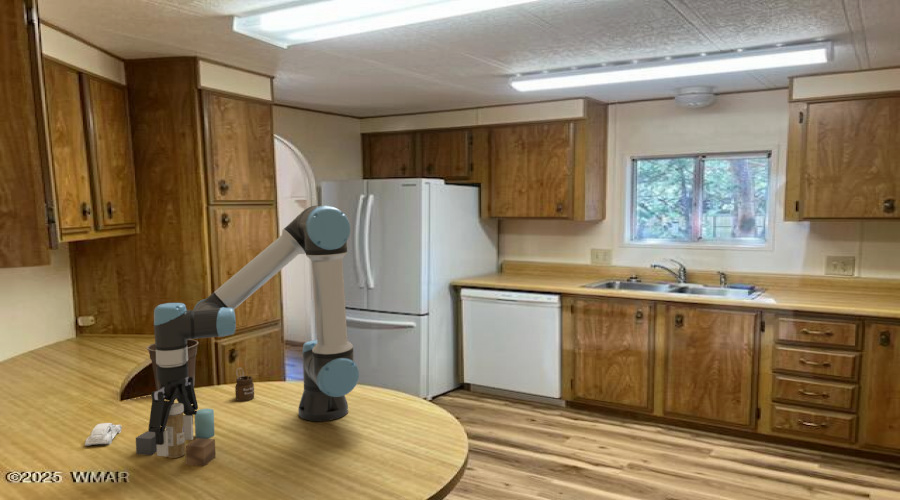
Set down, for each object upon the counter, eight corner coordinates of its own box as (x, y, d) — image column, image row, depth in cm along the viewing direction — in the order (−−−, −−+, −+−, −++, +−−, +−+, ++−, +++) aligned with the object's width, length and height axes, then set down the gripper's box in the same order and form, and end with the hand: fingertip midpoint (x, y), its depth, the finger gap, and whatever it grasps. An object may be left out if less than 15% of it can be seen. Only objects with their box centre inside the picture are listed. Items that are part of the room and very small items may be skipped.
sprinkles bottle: (187, 456, 157) (184, 405, 155) (167, 460, 154) (165, 409, 153) (183, 449, 160) (181, 400, 159) (165, 454, 158) (162, 404, 157)
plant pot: (147, 399, 200) (145, 352, 198) (150, 385, 215) (148, 341, 213) (200, 393, 206) (198, 347, 205) (199, 380, 221) (198, 337, 220)
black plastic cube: (162, 448, 162) (162, 432, 161) (151, 455, 157) (150, 438, 157) (147, 447, 162) (147, 431, 162) (136, 454, 158) (135, 437, 158)
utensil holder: (231, 400, 199) (230, 364, 198) (244, 394, 205) (243, 360, 204) (245, 402, 197) (244, 366, 196) (258, 396, 203) (257, 361, 202)
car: (108, 447, 163) (107, 430, 162) (83, 449, 162) (82, 432, 161) (124, 430, 174) (124, 415, 174) (101, 432, 173) (100, 416, 173)
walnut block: (215, 458, 156) (214, 439, 155) (204, 466, 151) (203, 447, 150) (198, 456, 157) (197, 437, 156) (186, 464, 152) (185, 445, 151)
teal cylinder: (218, 432, 172) (217, 409, 171) (207, 439, 167) (207, 415, 166) (202, 431, 173) (201, 408, 172) (191, 438, 168) (190, 414, 167)
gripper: (185, 351, 167) (188, 429, 169) (128, 375, 145) (133, 464, 147) (210, 353, 165) (213, 431, 167) (156, 377, 143) (160, 467, 145)
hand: (175, 447), depth 157 cm, fingers open, 10 cm apart
